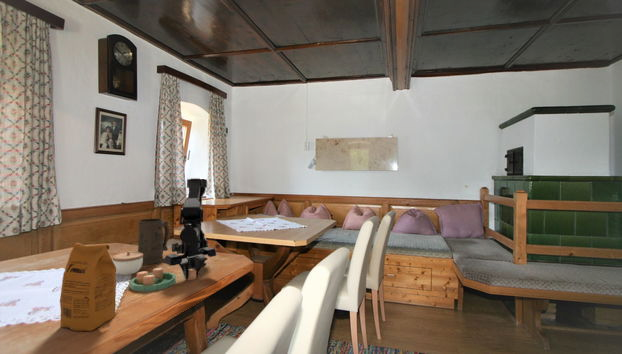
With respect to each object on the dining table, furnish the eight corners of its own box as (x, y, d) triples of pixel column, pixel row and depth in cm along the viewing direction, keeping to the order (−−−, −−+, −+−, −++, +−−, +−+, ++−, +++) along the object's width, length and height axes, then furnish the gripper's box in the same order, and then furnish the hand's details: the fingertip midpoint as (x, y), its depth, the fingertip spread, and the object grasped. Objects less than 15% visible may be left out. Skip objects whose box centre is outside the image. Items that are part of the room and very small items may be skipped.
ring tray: (164, 276, 123) (164, 269, 123) (183, 285, 114) (183, 278, 114) (123, 286, 112) (123, 279, 112) (140, 297, 102) (140, 289, 102)
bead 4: (193, 278, 122) (193, 268, 121) (198, 280, 119) (198, 270, 119) (184, 280, 119) (184, 270, 119) (189, 282, 116) (189, 272, 116)
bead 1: (145, 281, 115) (145, 270, 115) (149, 283, 113) (149, 272, 113) (135, 283, 112) (135, 273, 112) (139, 286, 110) (139, 275, 110)
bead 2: (151, 285, 111) (152, 274, 111) (156, 287, 109) (156, 276, 109) (141, 287, 109) (141, 276, 109) (145, 290, 106) (145, 278, 106)
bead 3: (155, 278, 118) (155, 268, 118) (164, 278, 119) (164, 267, 119) (151, 281, 115) (151, 271, 115) (161, 281, 115) (161, 270, 115)
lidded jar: (129, 279, 119) (129, 255, 119) (106, 277, 121) (106, 253, 121) (149, 271, 130) (149, 248, 130) (127, 269, 132) (127, 247, 132)
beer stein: (149, 265, 136) (152, 220, 138) (130, 263, 139) (133, 219, 141) (173, 259, 151) (176, 218, 152) (156, 257, 154) (158, 217, 155)
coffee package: (88, 312, 91) (88, 238, 91) (121, 317, 88) (122, 241, 88) (52, 328, 82) (52, 245, 81) (88, 335, 78) (88, 249, 78)
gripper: (202, 231, 131) (201, 268, 131) (157, 238, 117) (157, 279, 117) (217, 235, 124) (216, 273, 124) (171, 242, 110) (171, 286, 110)
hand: (191, 277), depth 119 cm, fingers closed on bead 4, 4 cm apart
